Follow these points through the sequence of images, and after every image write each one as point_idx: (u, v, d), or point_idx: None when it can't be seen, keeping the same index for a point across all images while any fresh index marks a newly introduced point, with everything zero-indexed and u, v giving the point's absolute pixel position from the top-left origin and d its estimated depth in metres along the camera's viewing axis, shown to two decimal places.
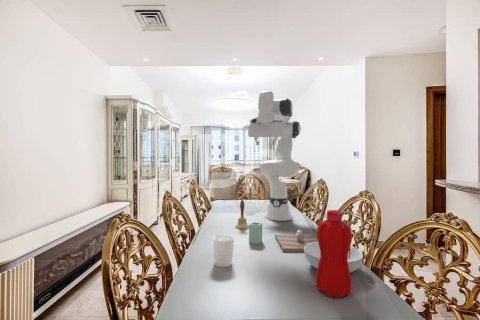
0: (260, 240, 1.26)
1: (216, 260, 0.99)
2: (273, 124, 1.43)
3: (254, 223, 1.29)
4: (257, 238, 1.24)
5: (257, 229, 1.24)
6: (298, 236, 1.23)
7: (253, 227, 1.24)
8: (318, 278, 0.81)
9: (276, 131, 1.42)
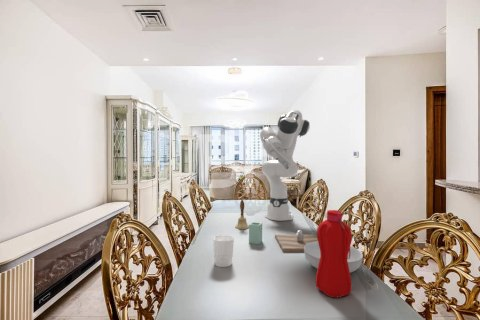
0: (260, 240, 1.26)
1: (216, 260, 0.99)
2: None
3: (254, 223, 1.29)
4: (257, 238, 1.24)
5: (257, 229, 1.24)
6: (298, 236, 1.23)
7: (253, 227, 1.24)
8: (318, 278, 0.81)
9: None
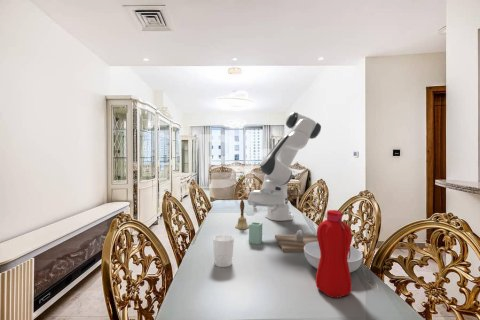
0: (260, 240, 1.26)
1: (216, 260, 0.99)
2: None
3: (254, 223, 1.29)
4: (257, 238, 1.24)
5: (257, 229, 1.24)
6: (298, 236, 1.23)
7: (253, 227, 1.24)
8: (318, 278, 0.81)
9: None
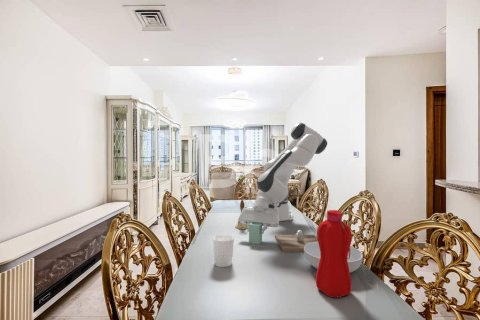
0: (260, 240, 1.26)
1: (216, 260, 0.99)
2: None
3: (254, 223, 1.29)
4: (257, 238, 1.24)
5: (257, 229, 1.24)
6: (298, 236, 1.23)
7: (253, 227, 1.24)
8: (318, 278, 0.81)
9: None
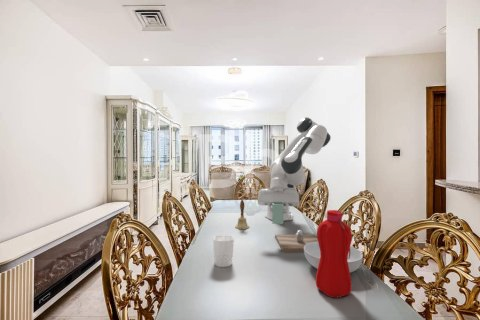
0: None
1: (216, 260, 0.99)
2: None
3: (275, 203, 1.26)
4: (281, 218, 1.21)
5: (281, 208, 1.22)
6: (298, 236, 1.23)
7: (277, 207, 1.22)
8: (318, 278, 0.81)
9: None
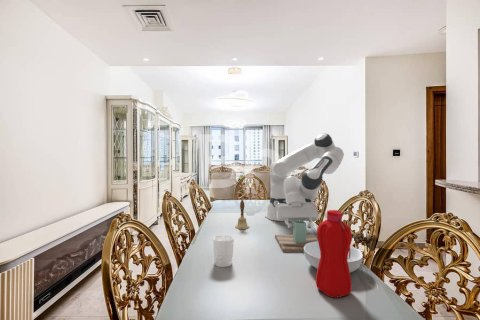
0: None
1: (216, 260, 0.99)
2: None
3: (295, 222, 1.26)
4: (304, 236, 1.22)
5: (305, 227, 1.22)
6: None
7: (300, 226, 1.22)
8: (318, 278, 0.81)
9: None
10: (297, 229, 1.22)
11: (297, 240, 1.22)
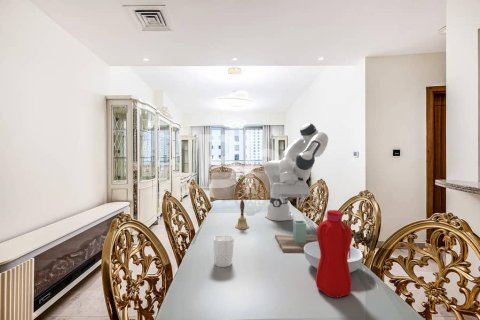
0: None
1: (216, 260, 0.99)
2: None
3: (295, 222, 1.26)
4: (304, 236, 1.22)
5: (305, 227, 1.22)
6: None
7: (300, 226, 1.22)
8: (318, 278, 0.81)
9: None
10: (297, 229, 1.22)
11: (297, 240, 1.22)
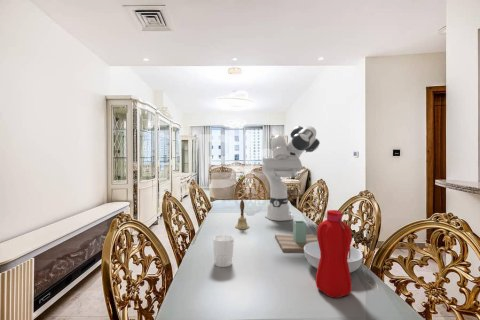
0: None
1: (216, 260, 0.99)
2: None
3: (295, 222, 1.26)
4: (304, 236, 1.22)
5: (305, 227, 1.22)
6: None
7: (300, 226, 1.22)
8: (318, 278, 0.81)
9: None
10: (297, 229, 1.22)
11: (297, 240, 1.22)
